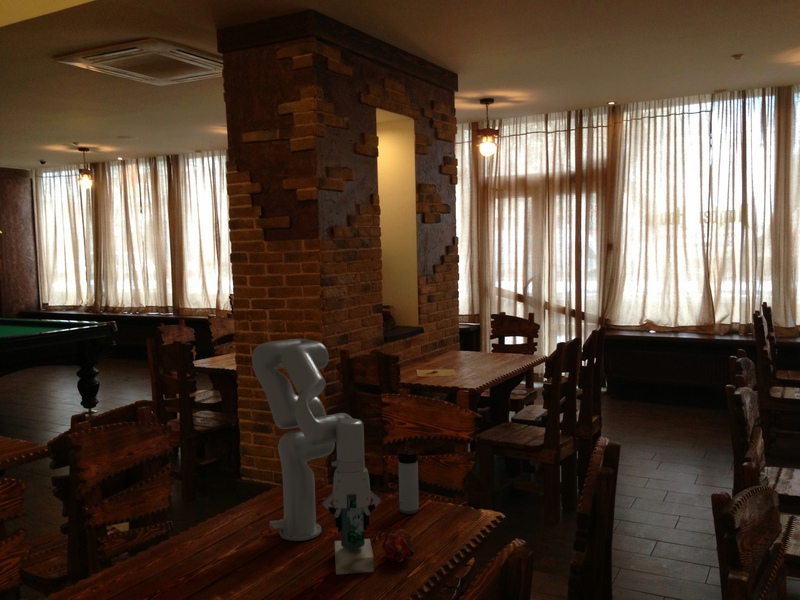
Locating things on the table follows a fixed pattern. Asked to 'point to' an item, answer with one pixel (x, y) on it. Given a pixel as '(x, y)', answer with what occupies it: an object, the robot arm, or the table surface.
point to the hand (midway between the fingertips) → (352, 528)
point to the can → (352, 525)
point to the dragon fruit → (397, 545)
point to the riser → (354, 559)
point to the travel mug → (408, 482)
